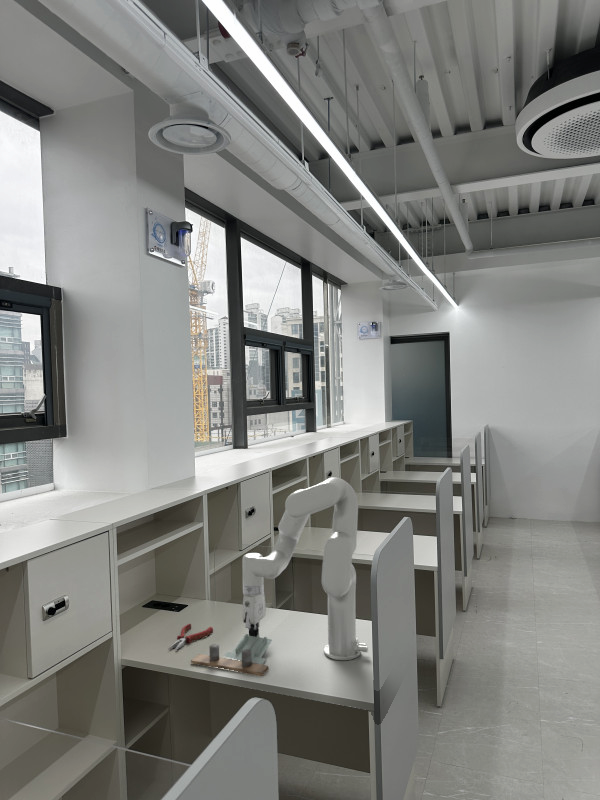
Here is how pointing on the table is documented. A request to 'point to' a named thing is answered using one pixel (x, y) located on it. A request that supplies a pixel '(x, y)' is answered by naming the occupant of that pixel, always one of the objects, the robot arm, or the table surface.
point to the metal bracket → (251, 648)
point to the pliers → (190, 638)
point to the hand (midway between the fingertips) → (253, 639)
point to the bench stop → (231, 662)
